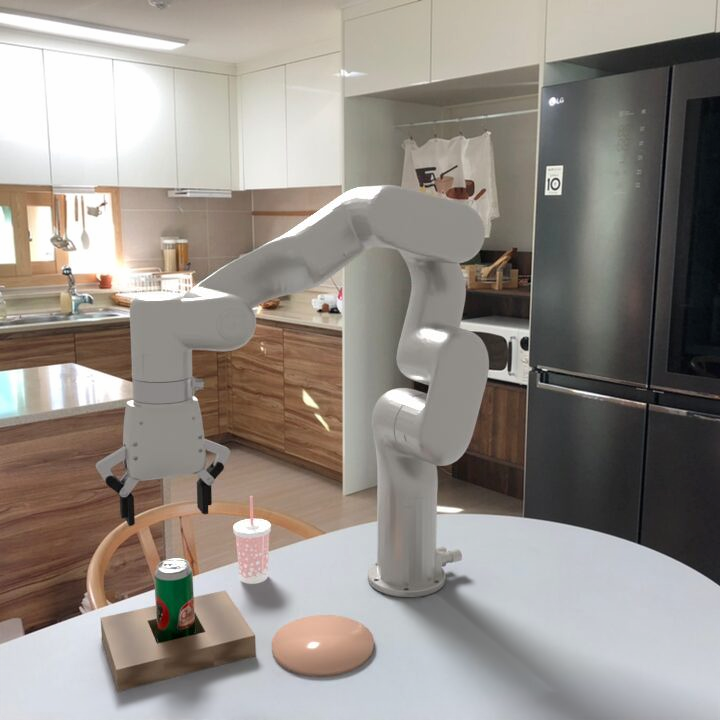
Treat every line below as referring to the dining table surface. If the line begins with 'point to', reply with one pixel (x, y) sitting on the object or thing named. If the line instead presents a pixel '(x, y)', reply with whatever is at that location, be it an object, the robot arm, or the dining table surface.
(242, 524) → the beverage cup
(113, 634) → the pocket board
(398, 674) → the dining table surface
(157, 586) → the soda can
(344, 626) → the peach domed disc
